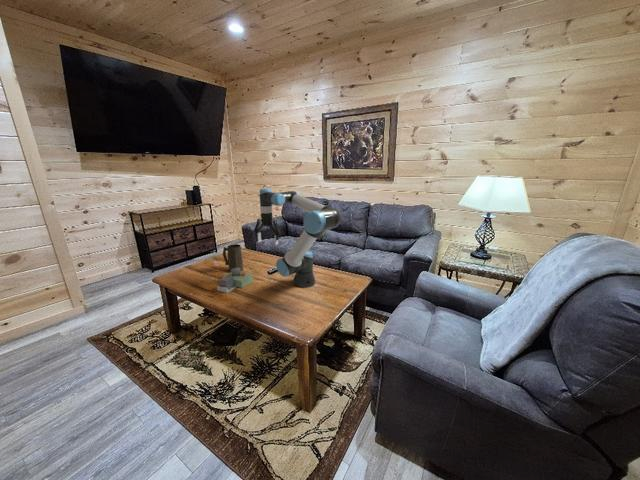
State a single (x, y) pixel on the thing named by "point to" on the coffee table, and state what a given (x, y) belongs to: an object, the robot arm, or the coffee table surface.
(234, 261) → the beer stein
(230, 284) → the tall grey cuboid
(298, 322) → the coffee table surface
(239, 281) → the green base with dome
